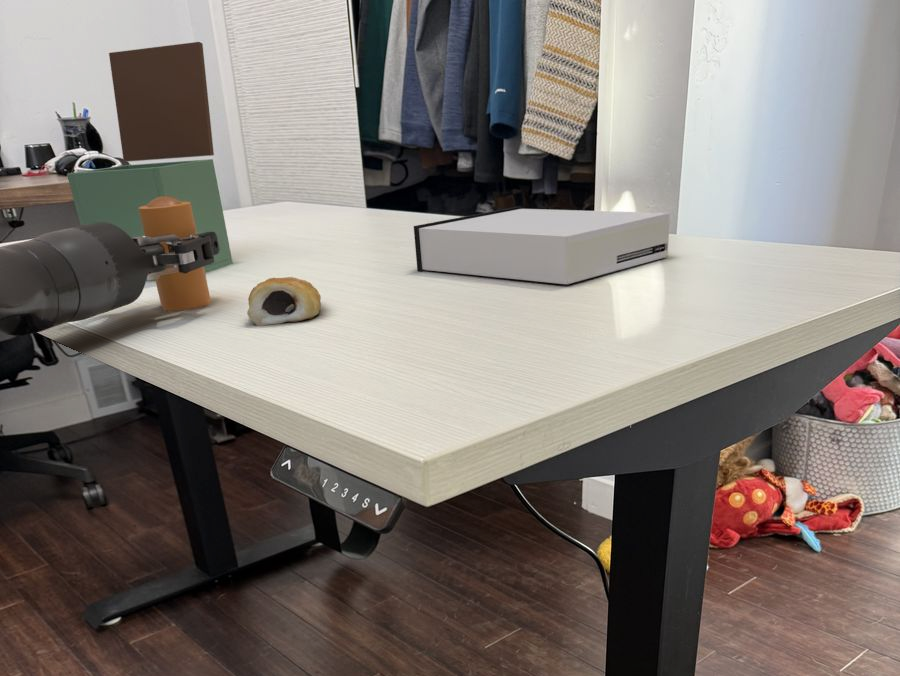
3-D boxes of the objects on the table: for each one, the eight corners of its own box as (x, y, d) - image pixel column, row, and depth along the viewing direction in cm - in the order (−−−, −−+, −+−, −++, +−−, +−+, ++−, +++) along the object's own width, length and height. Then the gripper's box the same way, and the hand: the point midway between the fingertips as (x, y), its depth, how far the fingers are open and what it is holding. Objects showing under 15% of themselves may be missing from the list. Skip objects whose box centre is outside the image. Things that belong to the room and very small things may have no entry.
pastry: (263, 308, 88) (256, 269, 87) (328, 303, 88) (323, 263, 86) (247, 328, 80) (240, 286, 78) (319, 323, 80) (313, 280, 78)
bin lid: (198, 41, 105) (202, 43, 106) (108, 52, 110) (112, 54, 110) (210, 154, 110) (214, 155, 110) (123, 161, 114) (127, 161, 115)
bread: (152, 311, 91) (125, 200, 86) (180, 301, 96) (156, 194, 90) (193, 311, 90) (168, 198, 84) (220, 300, 94) (198, 192, 88)
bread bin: (183, 281, 107) (158, 167, 101) (95, 283, 112) (66, 173, 105) (233, 264, 117) (213, 159, 110) (150, 266, 121) (126, 165, 115)
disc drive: (519, 248, 110) (518, 205, 108) (668, 258, 95) (671, 209, 93) (416, 272, 100) (412, 226, 98) (565, 288, 85) (565, 234, 83)
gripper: (135, 225, 74) (238, 201, 87) (6, 231, 79) (122, 207, 92) (156, 315, 78) (252, 279, 91) (32, 315, 82) (140, 281, 96)
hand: (186, 243), depth 91 cm, fingers open, 6 cm apart
